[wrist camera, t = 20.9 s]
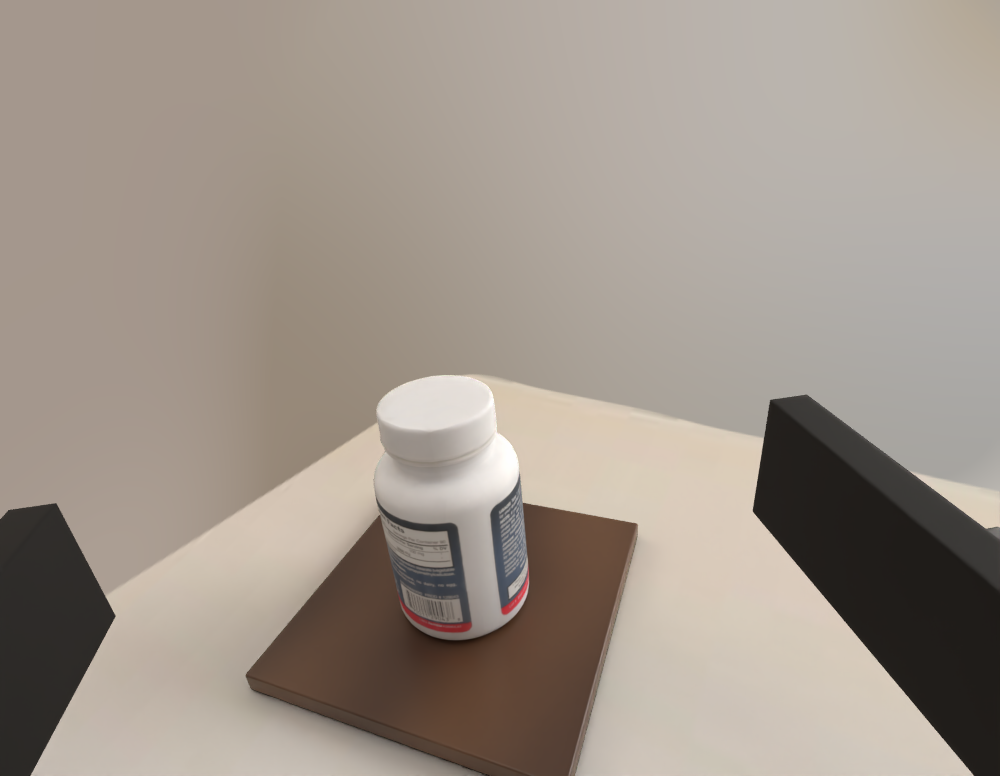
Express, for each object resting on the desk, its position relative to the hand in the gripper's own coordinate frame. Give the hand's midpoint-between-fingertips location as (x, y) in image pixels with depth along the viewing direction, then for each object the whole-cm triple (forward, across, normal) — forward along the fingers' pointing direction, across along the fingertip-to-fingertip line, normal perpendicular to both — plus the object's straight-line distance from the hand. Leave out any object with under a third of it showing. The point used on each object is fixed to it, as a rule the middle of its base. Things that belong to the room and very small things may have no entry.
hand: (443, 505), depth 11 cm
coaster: (+9, 0, -12) cm, 15 cm away
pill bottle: (+9, 0, -11) cm, 14 cm away
